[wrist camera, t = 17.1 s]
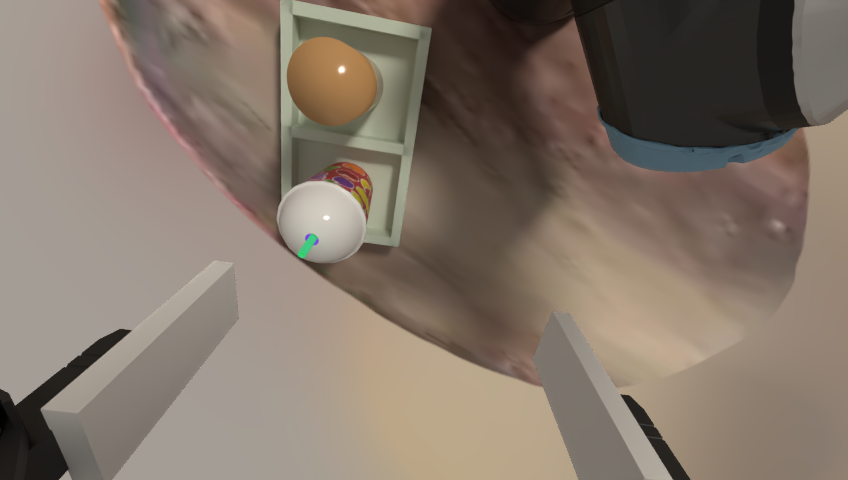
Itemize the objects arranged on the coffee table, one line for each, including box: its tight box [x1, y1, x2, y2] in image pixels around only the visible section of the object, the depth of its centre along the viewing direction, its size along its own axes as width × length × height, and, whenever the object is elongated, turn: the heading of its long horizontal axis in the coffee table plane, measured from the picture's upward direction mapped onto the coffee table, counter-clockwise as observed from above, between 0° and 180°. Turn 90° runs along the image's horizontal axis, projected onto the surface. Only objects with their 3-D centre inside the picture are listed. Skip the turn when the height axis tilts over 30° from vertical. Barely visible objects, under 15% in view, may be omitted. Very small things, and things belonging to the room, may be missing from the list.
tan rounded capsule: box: [287, 37, 383, 126], centre depth 33 cm, size 6×6×14 cm
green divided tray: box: [280, 0, 432, 247], centre depth 41 cm, size 26×15×4 cm, turn 170°
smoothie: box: [277, 162, 373, 263], centre depth 35 cm, size 8×8×20 cm
